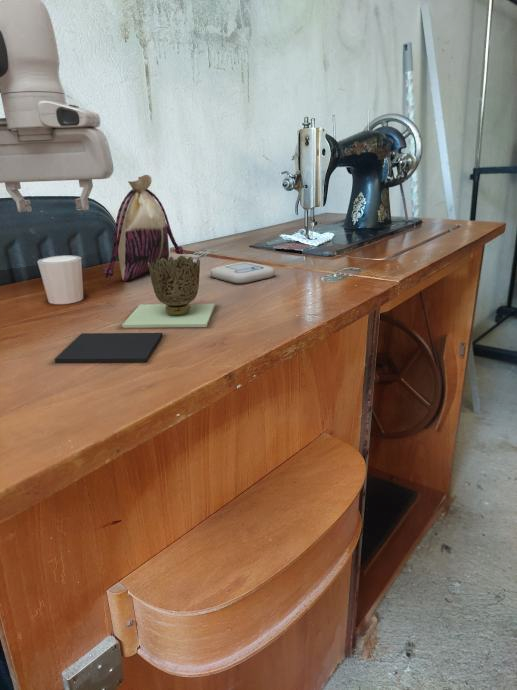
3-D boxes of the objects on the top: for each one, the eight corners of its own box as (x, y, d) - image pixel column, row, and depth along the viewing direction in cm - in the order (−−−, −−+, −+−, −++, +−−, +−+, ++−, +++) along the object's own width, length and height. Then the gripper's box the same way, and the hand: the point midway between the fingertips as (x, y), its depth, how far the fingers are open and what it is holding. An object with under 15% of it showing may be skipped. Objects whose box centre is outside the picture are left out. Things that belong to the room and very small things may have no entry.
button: (279, 267, 99) (238, 276, 93) (279, 276, 100) (239, 285, 94) (245, 260, 106) (206, 268, 100) (245, 268, 107) (206, 276, 101)
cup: (144, 313, 78) (138, 260, 75) (185, 303, 82) (182, 253, 79) (169, 324, 72) (164, 268, 69) (212, 313, 77) (209, 260, 74)
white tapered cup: (42, 297, 89) (35, 257, 86) (83, 292, 92) (77, 253, 89) (47, 307, 83) (39, 264, 81) (90, 301, 86) (84, 259, 84)
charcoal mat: (55, 362, 62) (54, 358, 61) (82, 336, 70) (81, 333, 70) (146, 362, 61) (145, 358, 61) (162, 336, 69) (162, 332, 69)
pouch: (133, 288, 94) (120, 178, 87) (94, 285, 96) (79, 178, 89) (191, 260, 116) (185, 171, 109) (158, 259, 118) (150, 171, 111)
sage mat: (122, 328, 73) (121, 324, 73) (140, 307, 82) (139, 304, 82) (206, 327, 72) (206, 323, 72) (215, 306, 82) (215, 303, 82)
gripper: (-43, 118, 75) (-20, 215, 80) (96, 112, 74) (109, 211, 79) (-19, 120, 81) (0, 210, 86) (109, 114, 80) (121, 206, 85)
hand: (54, 211), depth 82 cm, fingers open, 8 cm apart
